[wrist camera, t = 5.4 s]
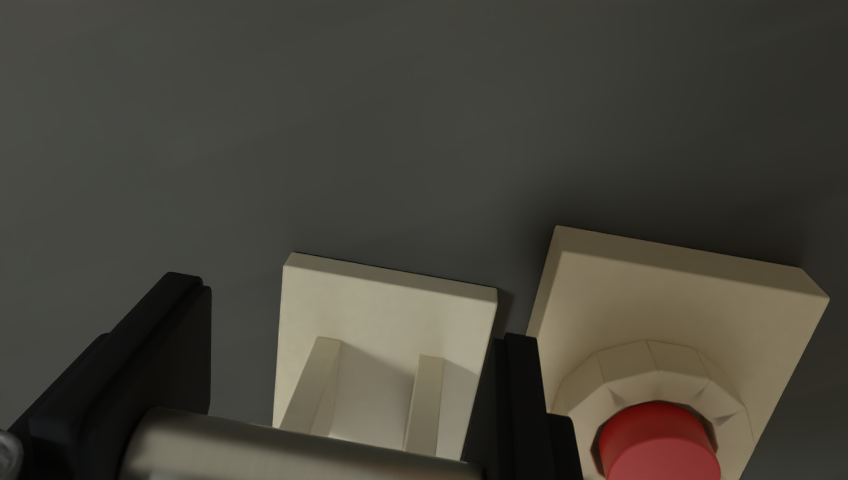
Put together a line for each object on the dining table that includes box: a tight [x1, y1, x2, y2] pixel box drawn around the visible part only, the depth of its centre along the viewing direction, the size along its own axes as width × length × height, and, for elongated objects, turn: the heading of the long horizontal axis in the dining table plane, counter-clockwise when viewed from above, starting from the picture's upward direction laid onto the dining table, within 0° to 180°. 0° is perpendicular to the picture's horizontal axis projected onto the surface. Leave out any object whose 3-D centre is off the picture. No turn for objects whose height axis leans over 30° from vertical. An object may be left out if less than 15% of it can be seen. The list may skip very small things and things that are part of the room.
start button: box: [599, 402, 721, 480], centre depth 22 cm, size 4×4×2 cm
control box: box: [526, 225, 830, 480], centre depth 24 cm, size 12×9×4 cm
